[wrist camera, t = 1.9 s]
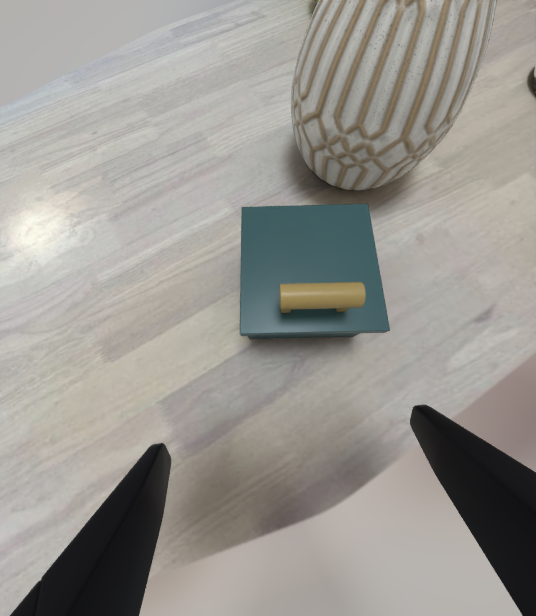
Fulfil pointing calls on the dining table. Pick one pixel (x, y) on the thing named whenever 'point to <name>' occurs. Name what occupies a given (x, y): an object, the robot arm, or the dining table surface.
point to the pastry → (534, 79)
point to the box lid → (310, 271)
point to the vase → (383, 83)
